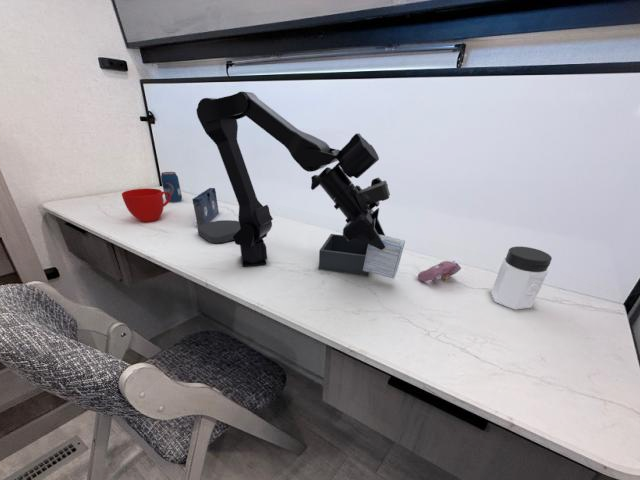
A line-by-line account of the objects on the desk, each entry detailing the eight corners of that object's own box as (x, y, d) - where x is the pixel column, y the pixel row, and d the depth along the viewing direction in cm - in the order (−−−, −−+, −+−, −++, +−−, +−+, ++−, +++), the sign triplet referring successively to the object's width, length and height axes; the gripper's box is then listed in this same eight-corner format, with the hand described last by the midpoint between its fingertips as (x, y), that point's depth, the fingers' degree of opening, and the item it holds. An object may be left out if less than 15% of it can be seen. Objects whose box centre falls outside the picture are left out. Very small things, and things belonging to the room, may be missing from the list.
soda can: (162, 202, 136) (156, 173, 130) (171, 198, 142) (165, 171, 136) (177, 203, 136) (171, 174, 129) (185, 199, 141) (180, 172, 135)
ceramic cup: (184, 216, 120) (178, 190, 115) (142, 227, 108) (134, 198, 102) (163, 210, 126) (157, 185, 120) (122, 220, 113) (113, 192, 108)
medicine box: (397, 272, 76) (406, 240, 72) (393, 279, 73) (403, 246, 68) (366, 264, 78) (373, 232, 74) (362, 271, 75) (369, 238, 70)
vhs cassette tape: (213, 212, 125) (209, 187, 120) (220, 213, 125) (216, 187, 120) (196, 227, 109) (190, 199, 104) (204, 227, 109) (199, 199, 104)
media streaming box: (213, 245, 95) (211, 236, 94) (194, 233, 104) (193, 224, 103) (254, 236, 103) (253, 227, 102) (233, 225, 113) (232, 217, 111)
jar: (506, 311, 68) (527, 262, 62) (482, 293, 75) (499, 247, 68) (539, 307, 70) (563, 259, 63) (513, 290, 76) (532, 245, 70)
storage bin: (318, 269, 83) (319, 250, 80) (330, 250, 95) (330, 233, 92) (368, 276, 81) (370, 257, 78) (373, 256, 92) (376, 239, 89)
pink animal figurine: (424, 290, 78) (439, 273, 72) (414, 276, 80) (428, 259, 74) (451, 282, 82) (467, 266, 76) (442, 270, 84) (457, 253, 78)
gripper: (365, 173, 56) (414, 238, 60) (375, 161, 72) (414, 213, 75) (322, 211, 62) (369, 268, 66) (340, 192, 78) (377, 239, 81)
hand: (384, 244), depth 72 cm, fingers closed on medicine box, 5 cm apart
